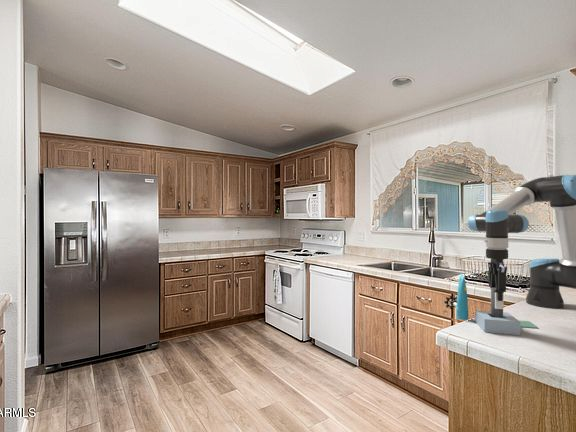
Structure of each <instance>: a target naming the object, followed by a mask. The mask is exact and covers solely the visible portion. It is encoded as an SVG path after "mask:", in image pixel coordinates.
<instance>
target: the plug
mask: <svg viewBox="0 0 576 432" xmlns="http://www.w3.org/2000/svg"><path fill="white" fill-rule="evenodd" d="M494 291H496V288H490V311H491V317H495V318H503V312H504V308H503V309H495V292H494Z"/></svg>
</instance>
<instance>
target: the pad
mask: <svg viewBox="0 0 576 432" xmlns="http://www.w3.org/2000/svg"><path fill="white" fill-rule="evenodd" d="M519 321H520V328H526V329H527V328H528V329H539V327H538V326H537V325H536V324H534V323H533V322H531V321H530V320H529V321H528V320H519Z"/></svg>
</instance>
